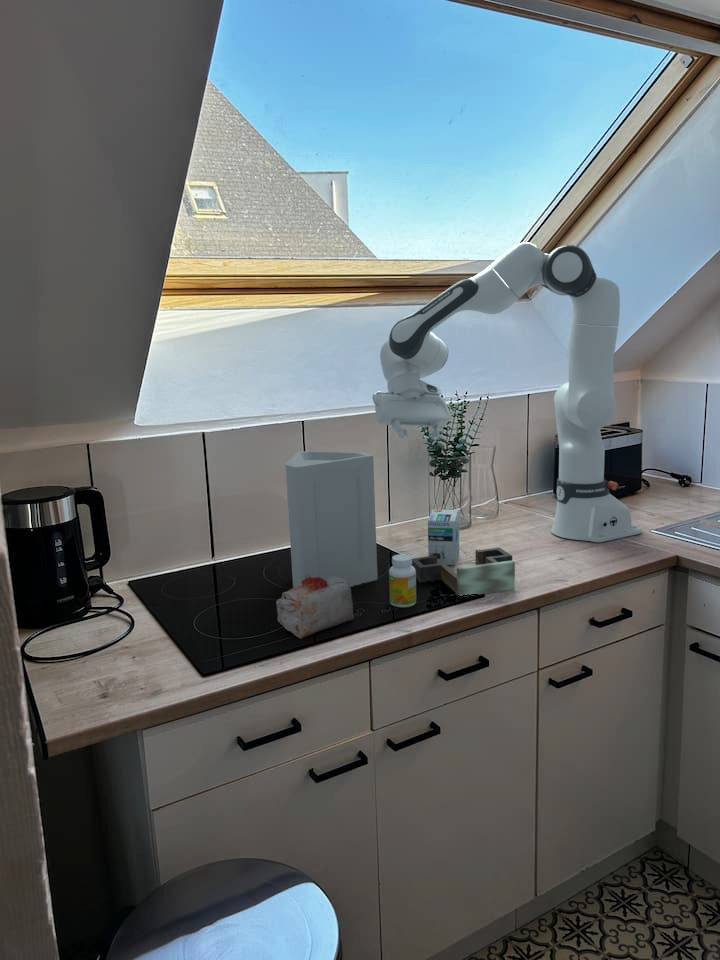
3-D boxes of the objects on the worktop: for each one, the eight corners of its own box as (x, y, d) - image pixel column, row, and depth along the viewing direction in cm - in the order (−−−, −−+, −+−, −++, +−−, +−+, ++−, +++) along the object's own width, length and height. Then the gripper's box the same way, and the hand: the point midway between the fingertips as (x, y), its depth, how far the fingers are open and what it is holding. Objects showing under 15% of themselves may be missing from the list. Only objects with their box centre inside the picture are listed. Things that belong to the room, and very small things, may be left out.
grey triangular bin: (344, 562, 173) (339, 446, 166) (379, 579, 160) (374, 455, 154) (272, 579, 163) (263, 457, 157) (303, 599, 150) (295, 467, 144)
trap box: (498, 561, 169) (499, 536, 167) (534, 586, 152) (535, 559, 151) (410, 572, 163) (409, 547, 162) (438, 600, 147) (437, 572, 146)
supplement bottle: (384, 603, 146) (382, 558, 144) (401, 595, 150) (400, 551, 148) (404, 610, 143) (403, 563, 141) (421, 602, 147) (420, 556, 144)
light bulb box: (456, 566, 167) (456, 521, 165) (427, 565, 168) (426, 520, 166) (459, 551, 177) (459, 509, 175) (432, 550, 178) (431, 508, 176)
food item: (298, 643, 130) (295, 592, 128) (274, 630, 136) (271, 580, 134) (357, 622, 138) (355, 573, 136) (333, 610, 144) (330, 563, 142)
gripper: (375, 383, 182) (388, 429, 175) (445, 388, 191) (459, 431, 184) (366, 398, 187) (378, 443, 180) (434, 402, 195) (448, 445, 189)
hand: (420, 437), depth 182 cm, fingers open, 8 cm apart
